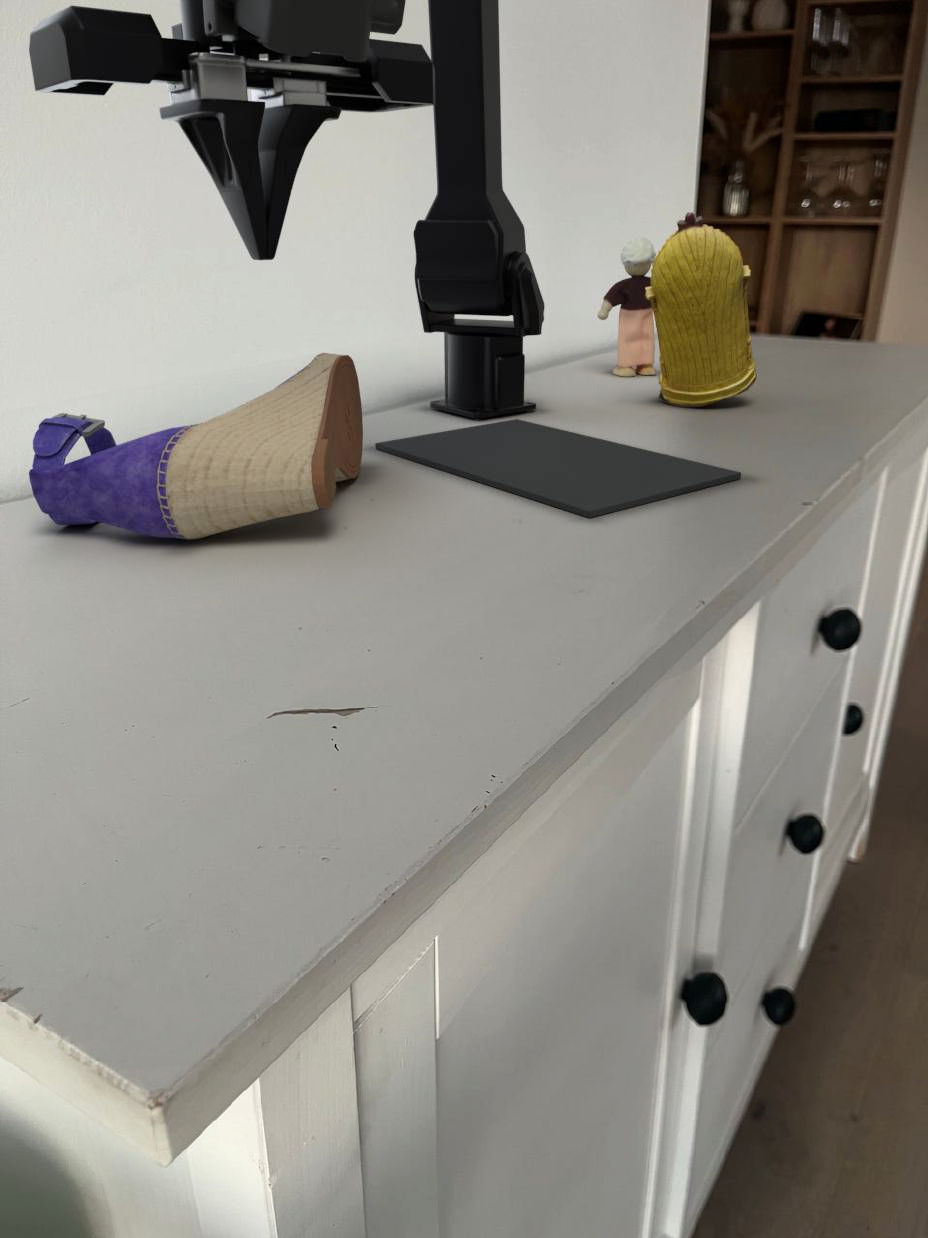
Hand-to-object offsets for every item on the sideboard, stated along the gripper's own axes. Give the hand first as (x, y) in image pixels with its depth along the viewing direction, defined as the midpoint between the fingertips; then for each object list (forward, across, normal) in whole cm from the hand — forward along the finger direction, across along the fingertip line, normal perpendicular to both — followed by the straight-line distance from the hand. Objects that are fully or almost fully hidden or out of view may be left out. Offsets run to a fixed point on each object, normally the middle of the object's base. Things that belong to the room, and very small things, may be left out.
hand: (263, 259), depth 50 cm
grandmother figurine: (+13, +49, +19) cm, 54 cm away
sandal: (+10, +4, -1) cm, 10 cm away
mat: (+13, +18, -2) cm, 22 cm away
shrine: (+13, +41, +4) cm, 43 cm away
